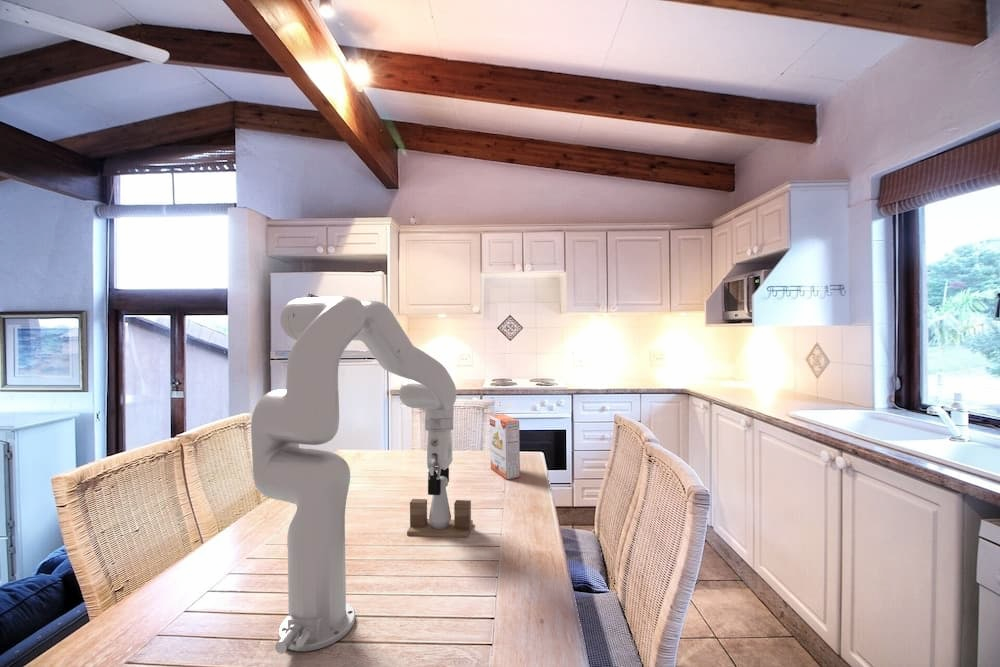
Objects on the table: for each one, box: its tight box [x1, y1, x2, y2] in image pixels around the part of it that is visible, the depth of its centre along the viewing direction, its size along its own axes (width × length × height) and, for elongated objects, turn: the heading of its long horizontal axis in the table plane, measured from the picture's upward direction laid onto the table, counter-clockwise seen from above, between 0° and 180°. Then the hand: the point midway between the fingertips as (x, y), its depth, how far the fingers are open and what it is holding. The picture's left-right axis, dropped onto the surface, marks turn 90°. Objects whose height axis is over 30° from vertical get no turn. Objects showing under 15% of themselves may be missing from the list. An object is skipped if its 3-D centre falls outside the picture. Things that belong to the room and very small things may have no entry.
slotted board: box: [406, 498, 474, 538], centre depth 118 cm, size 8×16×8 cm, turn 84°
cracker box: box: [489, 413, 521, 481], centre depth 163 cm, size 14×6×21 cm, turn 25°
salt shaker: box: [428, 476, 452, 530], centre depth 117 cm, size 6×6×13 cm
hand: (438, 488), depth 117 cm, fingers open, 9 cm apart
